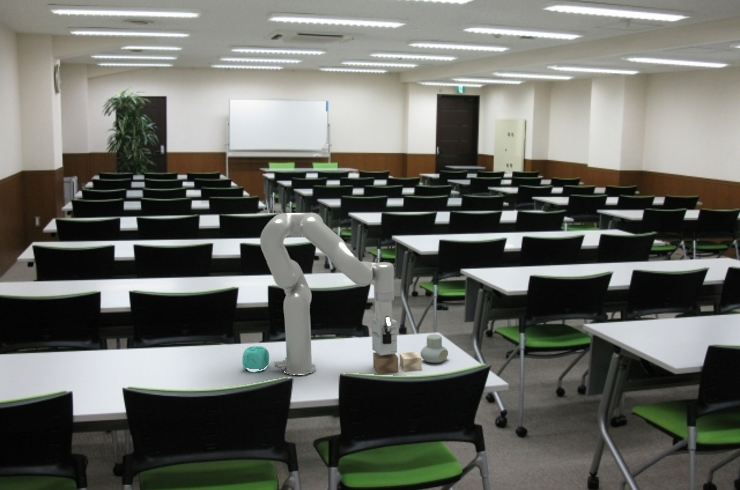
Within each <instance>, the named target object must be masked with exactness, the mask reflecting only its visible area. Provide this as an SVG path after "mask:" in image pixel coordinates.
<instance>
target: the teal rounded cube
mask: <svg viewBox="0 0 740 490" xmlns="http://www.w3.org/2000/svg"><path fill="white" fill-rule="evenodd" d="M241 359H242V361H241V363H242V367H243V368H244V369H245V368H249V369H259V370H261V369H264V368H265V367H266V366H267V365H268V366H269V363H270V353H269V350H268V349H267V348H266V347H265V346H261V345H253V346H249V347H247V348H245V349H244V350H243V354H242V358H241Z"/></svg>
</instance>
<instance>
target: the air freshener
mask: <svg viewBox="0 0 740 490" xmlns="http://www.w3.org/2000/svg"><path fill="white" fill-rule="evenodd" d="M448 356H449V351H448V349H447V348H446V347H445V346H443V337H442V335H440V334H435V333H434V334H429V335H427V336H426V346H424V347H423V348H422V349H421V351H420V357H421V359H423V360H424V361H426V362H427V363H430V364H440V363H442V362H445V360H446V359H447V358H448Z"/></svg>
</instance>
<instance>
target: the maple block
mask: <svg viewBox="0 0 740 490" xmlns="http://www.w3.org/2000/svg"><path fill="white" fill-rule="evenodd" d="M399 366H400V367H401V369H402V372H412V371H413V372H414V371H422V357H421V354H419V352H418V351H415V352H414V351H411V352H400V353H399Z"/></svg>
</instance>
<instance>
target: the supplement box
mask: <svg viewBox="0 0 740 490" xmlns="http://www.w3.org/2000/svg"><path fill="white" fill-rule="evenodd" d="M386 325H387V324H386V322H385V323H384V326H386ZM379 326H380V323H379V322H378V321H377V320H376V318H375V317H374V318H372V319H371V329H372V330H371V331H372V332H371V333H372V334H371V339H372V341H371V343H372V344H371V345H372V351H374V352H377V353H378V354H379V355H387V354H393V353H395V354H397V353H398V321H397V320H395V319H394V318H392V326H391V344H383V334H384V332H383V327H379ZM385 329H386V328H385Z"/></svg>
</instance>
